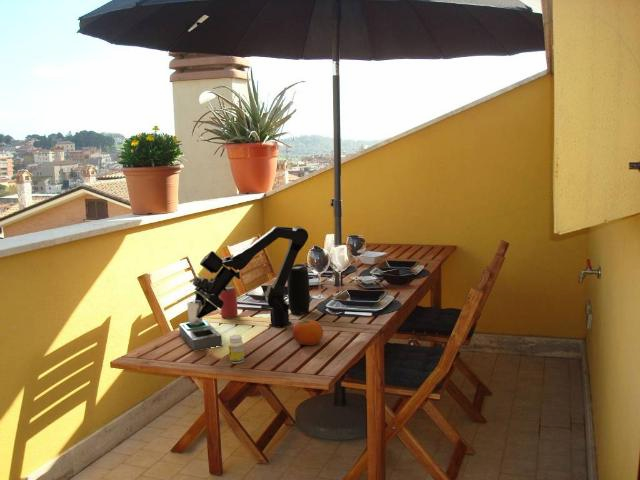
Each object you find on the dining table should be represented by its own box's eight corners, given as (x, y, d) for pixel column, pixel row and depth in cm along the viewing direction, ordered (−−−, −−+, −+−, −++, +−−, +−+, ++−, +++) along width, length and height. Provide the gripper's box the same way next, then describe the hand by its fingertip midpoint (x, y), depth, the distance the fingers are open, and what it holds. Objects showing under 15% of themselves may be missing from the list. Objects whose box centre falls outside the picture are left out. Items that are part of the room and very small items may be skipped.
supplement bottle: (230, 359, 208) (228, 334, 206) (244, 358, 208) (243, 333, 207) (229, 364, 203) (227, 339, 202) (244, 363, 203) (242, 338, 202)
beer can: (234, 318, 253) (232, 289, 251) (219, 318, 255) (217, 289, 253) (239, 314, 260) (238, 285, 258) (224, 313, 261) (222, 285, 259)
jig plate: (222, 346, 221) (221, 334, 220) (194, 351, 217) (193, 339, 216) (205, 329, 241) (205, 318, 240) (179, 334, 236) (178, 322, 236)
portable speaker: (286, 315, 255) (283, 268, 252) (293, 308, 264) (291, 263, 261) (306, 316, 253) (304, 268, 249) (313, 309, 262) (310, 263, 258)
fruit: (327, 339, 223) (326, 318, 222) (317, 349, 213) (316, 327, 212) (299, 337, 227) (298, 316, 225) (288, 347, 217) (287, 325, 216)
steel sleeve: (206, 334, 234) (203, 301, 232) (196, 338, 230) (194, 304, 228) (196, 333, 237) (194, 299, 235) (187, 336, 233) (184, 302, 230)
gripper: (198, 264, 240) (171, 296, 237) (212, 273, 223) (184, 308, 220) (219, 281, 244) (193, 313, 241) (235, 291, 228) (207, 325, 225)
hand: (194, 314), depth 232 cm, fingers open, 9 cm apart
